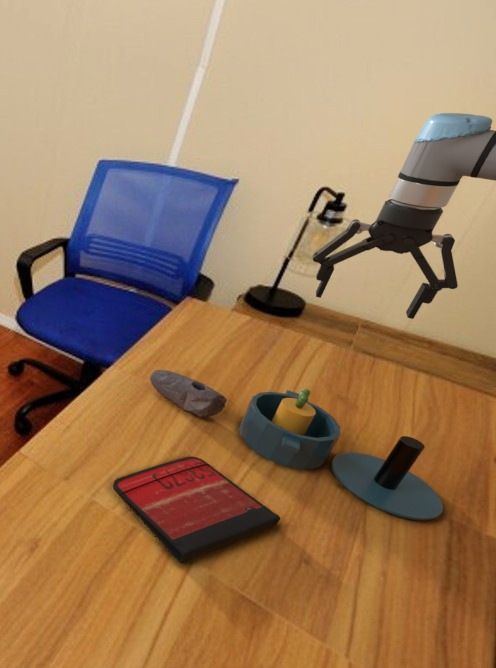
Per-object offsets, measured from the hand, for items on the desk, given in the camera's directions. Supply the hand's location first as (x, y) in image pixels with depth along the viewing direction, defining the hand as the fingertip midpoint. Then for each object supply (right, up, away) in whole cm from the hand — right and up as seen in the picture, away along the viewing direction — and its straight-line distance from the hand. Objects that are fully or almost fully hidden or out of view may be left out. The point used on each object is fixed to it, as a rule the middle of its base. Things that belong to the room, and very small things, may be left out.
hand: (362, 304), depth 101 cm
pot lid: (-6, -32, -10) cm, 34 cm away
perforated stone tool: (-29, -23, +11) cm, 39 cm away
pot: (-16, -28, 0) cm, 32 cm away
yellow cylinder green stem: (-16, -27, 0) cm, 32 cm away
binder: (-43, -35, -12) cm, 57 cm away
